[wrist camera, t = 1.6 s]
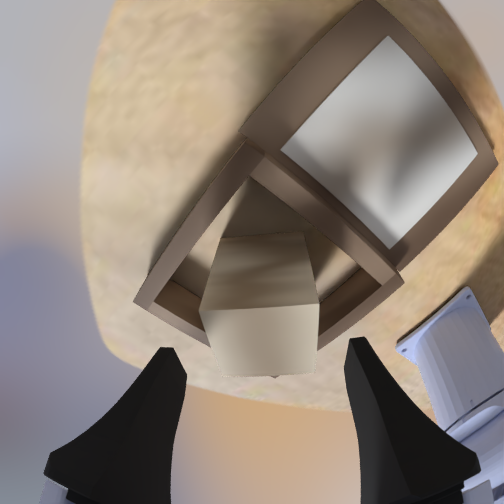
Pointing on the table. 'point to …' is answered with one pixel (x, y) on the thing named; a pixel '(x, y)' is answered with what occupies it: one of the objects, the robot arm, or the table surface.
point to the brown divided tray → (347, 165)
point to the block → (262, 306)
